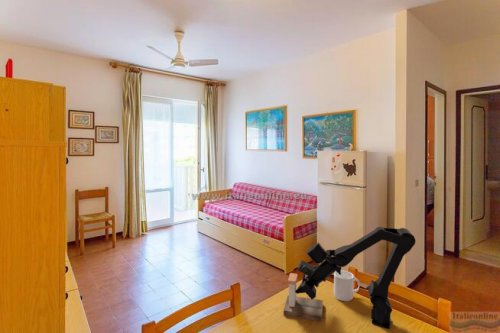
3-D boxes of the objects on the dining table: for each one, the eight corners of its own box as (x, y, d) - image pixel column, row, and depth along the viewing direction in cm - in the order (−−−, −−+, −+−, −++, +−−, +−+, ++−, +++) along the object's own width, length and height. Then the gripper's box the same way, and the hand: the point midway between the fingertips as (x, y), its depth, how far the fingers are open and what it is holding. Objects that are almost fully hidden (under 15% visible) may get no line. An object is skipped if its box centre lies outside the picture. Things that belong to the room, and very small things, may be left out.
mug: (363, 301, 127) (364, 278, 126) (337, 302, 127) (338, 279, 126) (355, 290, 136) (355, 269, 135) (331, 292, 135) (331, 270, 134)
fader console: (322, 304, 125) (322, 300, 125) (321, 321, 113) (321, 316, 113) (287, 299, 129) (287, 295, 129) (283, 315, 118) (283, 310, 117)
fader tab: (297, 298, 125) (297, 273, 124) (295, 307, 119) (295, 281, 118) (290, 297, 126) (290, 273, 125) (287, 306, 120) (287, 280, 118)
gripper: (311, 248, 127) (286, 268, 131) (307, 266, 109) (279, 288, 114) (328, 267, 126) (303, 287, 130) (328, 288, 108) (298, 310, 112)
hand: (296, 292), depth 121 cm, fingers closed, pressing on fader tab
